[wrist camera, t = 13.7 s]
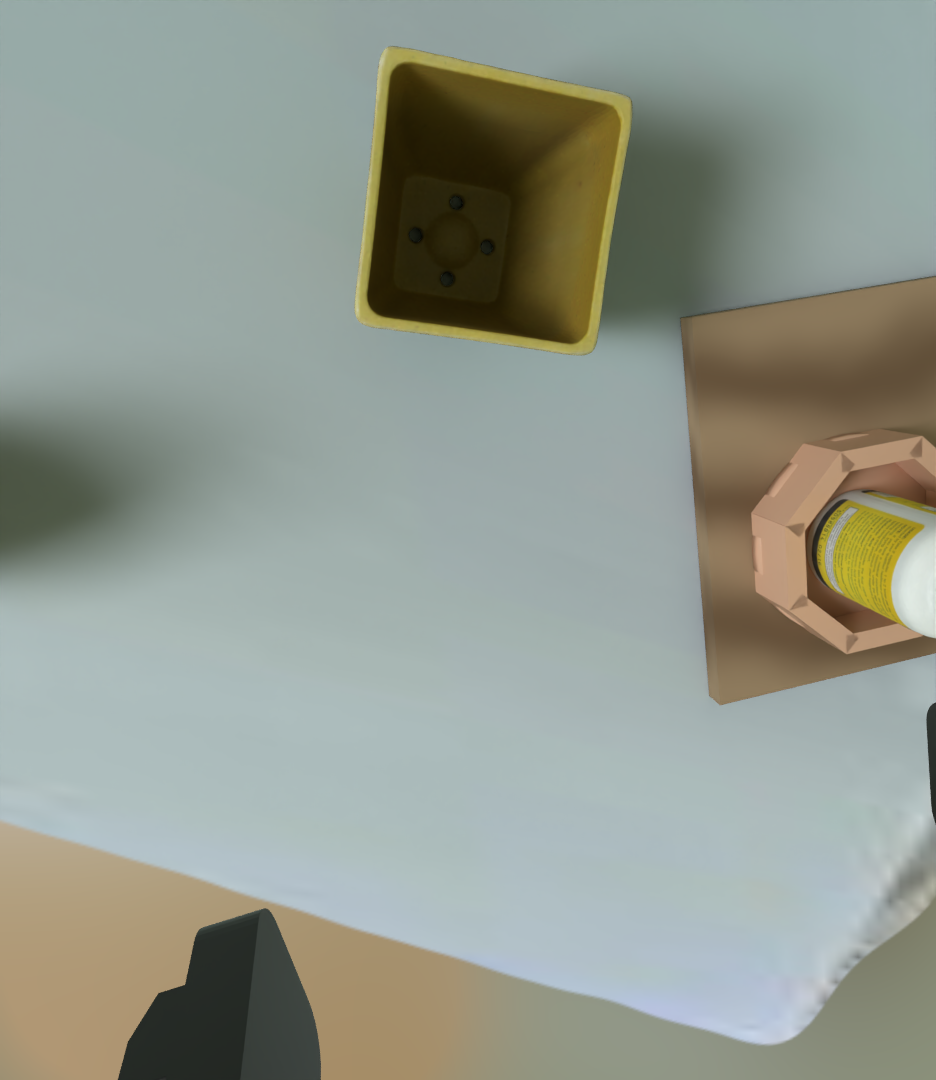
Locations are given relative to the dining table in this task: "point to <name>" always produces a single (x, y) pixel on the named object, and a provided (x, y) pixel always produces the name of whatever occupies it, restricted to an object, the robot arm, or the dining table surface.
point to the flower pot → (489, 203)
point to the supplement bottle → (879, 555)
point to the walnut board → (792, 452)
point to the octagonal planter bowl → (794, 506)
